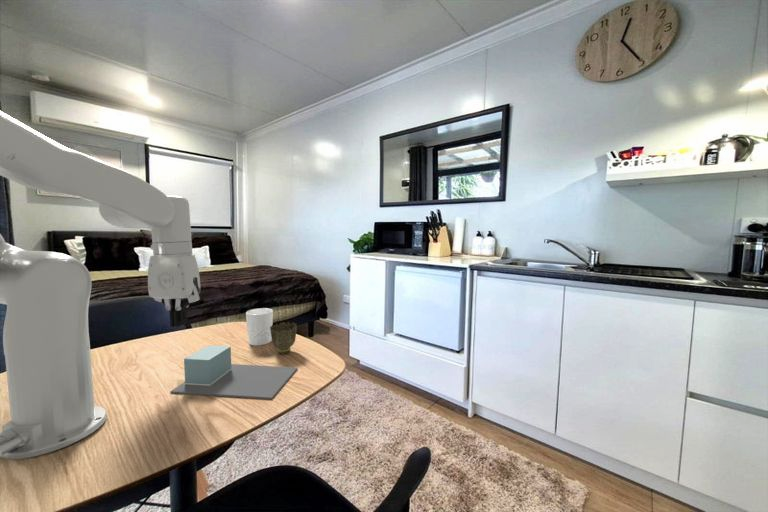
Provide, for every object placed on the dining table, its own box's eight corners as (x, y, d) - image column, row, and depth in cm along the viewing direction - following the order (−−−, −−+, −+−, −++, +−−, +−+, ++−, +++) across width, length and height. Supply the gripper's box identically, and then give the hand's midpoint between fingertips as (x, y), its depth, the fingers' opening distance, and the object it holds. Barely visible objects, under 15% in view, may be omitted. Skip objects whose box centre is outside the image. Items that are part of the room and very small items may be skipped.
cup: (270, 349, 89) (270, 323, 89) (296, 345, 92) (295, 320, 91) (270, 359, 82) (269, 330, 82) (298, 355, 85) (297, 328, 84)
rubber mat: (271, 399, 62) (271, 397, 62) (170, 393, 65) (170, 391, 65) (297, 369, 76) (297, 367, 76) (213, 364, 79) (213, 363, 78)
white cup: (278, 340, 96) (278, 310, 95) (257, 348, 90) (256, 316, 89) (263, 335, 100) (262, 306, 100) (241, 343, 94) (240, 312, 93)
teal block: (209, 386, 67) (208, 360, 66) (185, 384, 67) (183, 358, 67) (231, 369, 75) (230, 346, 74) (209, 368, 75) (208, 345, 75)
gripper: (128, 250, 67) (136, 329, 69) (191, 251, 65) (196, 331, 67) (157, 247, 74) (163, 319, 76) (213, 248, 73) (218, 321, 75)
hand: (178, 324), depth 72 cm, fingers closed
